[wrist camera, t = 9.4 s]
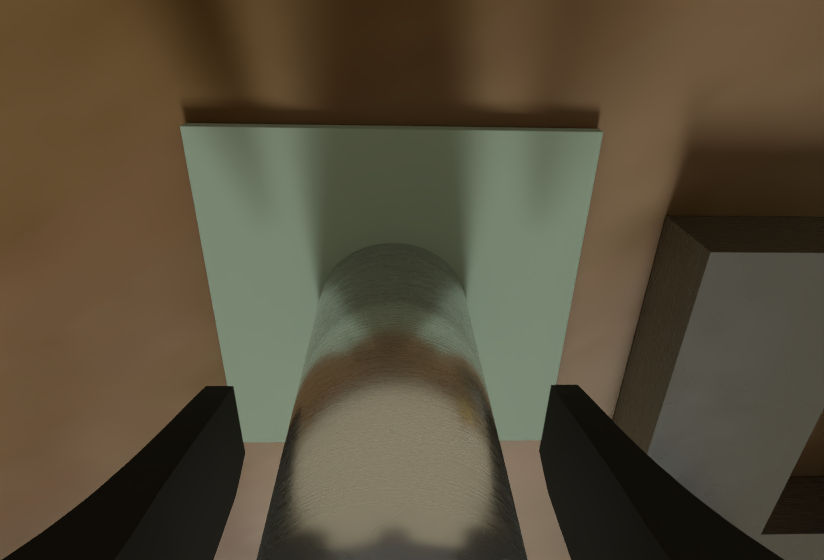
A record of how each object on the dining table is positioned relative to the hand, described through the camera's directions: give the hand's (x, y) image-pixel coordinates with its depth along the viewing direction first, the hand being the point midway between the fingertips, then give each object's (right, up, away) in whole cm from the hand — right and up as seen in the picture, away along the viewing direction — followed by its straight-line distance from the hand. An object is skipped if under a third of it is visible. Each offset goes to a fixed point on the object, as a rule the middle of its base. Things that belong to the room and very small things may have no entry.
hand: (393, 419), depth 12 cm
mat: (0, +2, +5) cm, 5 cm away
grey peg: (0, +2, +4) cm, 5 cm away
